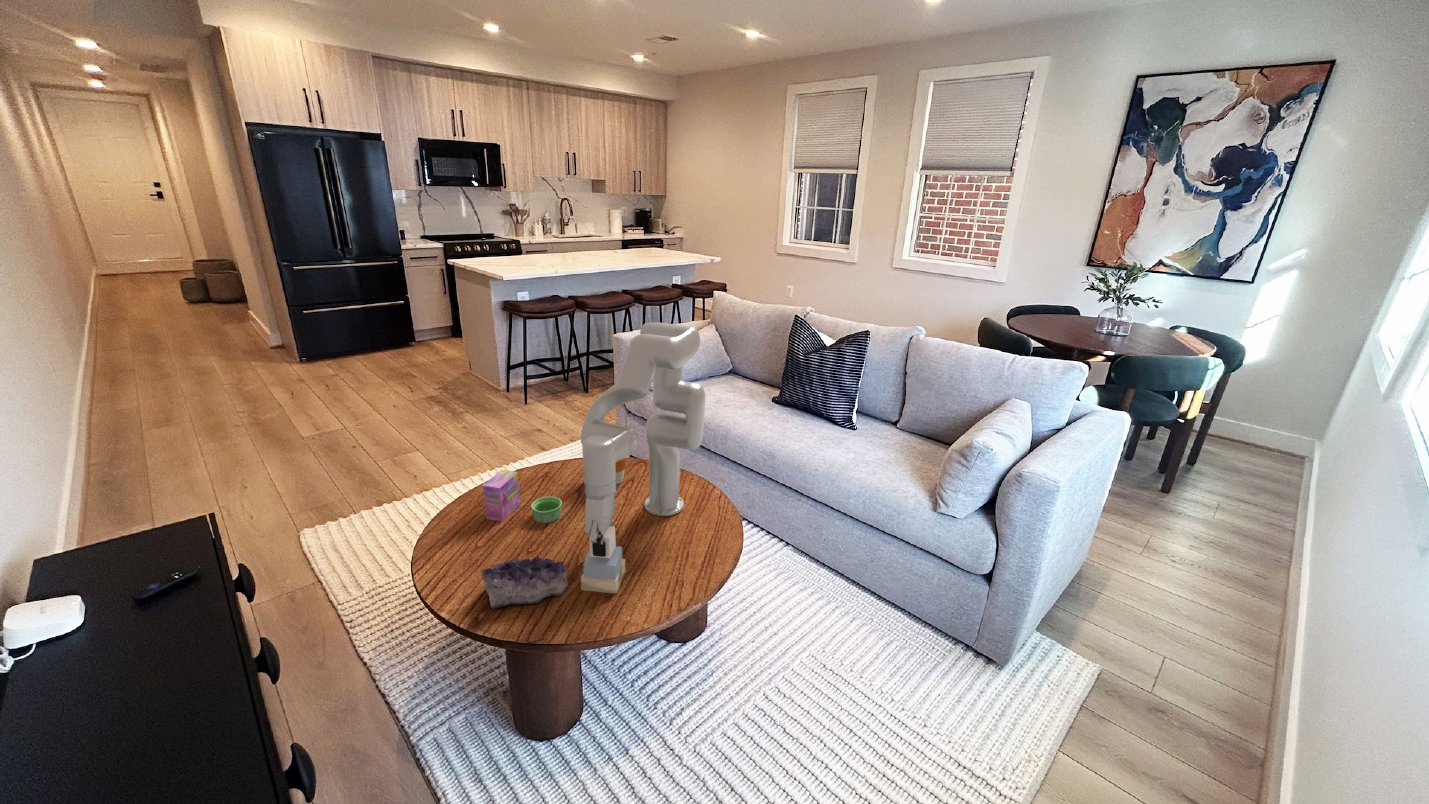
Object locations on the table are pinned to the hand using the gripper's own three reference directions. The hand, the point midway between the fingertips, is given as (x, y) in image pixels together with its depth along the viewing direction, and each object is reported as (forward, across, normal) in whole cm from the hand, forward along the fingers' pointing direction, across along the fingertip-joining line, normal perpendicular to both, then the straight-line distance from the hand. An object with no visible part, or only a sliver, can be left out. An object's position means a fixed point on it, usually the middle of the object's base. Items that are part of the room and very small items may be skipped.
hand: (602, 548), depth 139 cm
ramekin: (+10, -26, -26) cm, 38 cm away
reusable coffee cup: (+10, -52, -14) cm, 55 cm away
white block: (+1, 0, 0) cm, 1 cm away
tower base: (+10, 0, 0) cm, 10 cm away
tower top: (+6, 0, 0) cm, 6 cm away
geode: (+10, +8, -18) cm, 22 cm away
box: (+10, -26, -40) cm, 49 cm away
